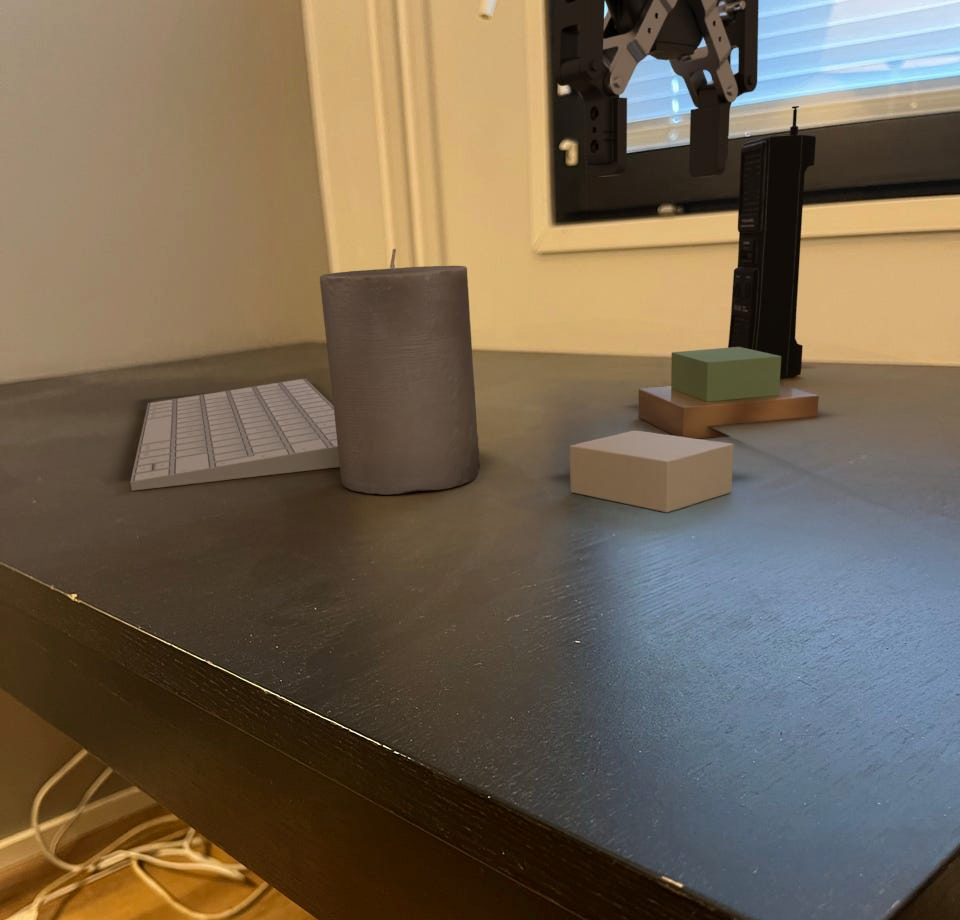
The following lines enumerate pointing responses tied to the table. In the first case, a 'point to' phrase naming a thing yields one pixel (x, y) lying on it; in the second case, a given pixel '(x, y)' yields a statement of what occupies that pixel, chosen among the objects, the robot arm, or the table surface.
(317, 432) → the computer keyboard
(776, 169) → the portable radio
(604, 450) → the beige block
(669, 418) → the brown l-shaped block
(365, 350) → the pillar candle
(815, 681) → the table surface
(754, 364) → the green pad
